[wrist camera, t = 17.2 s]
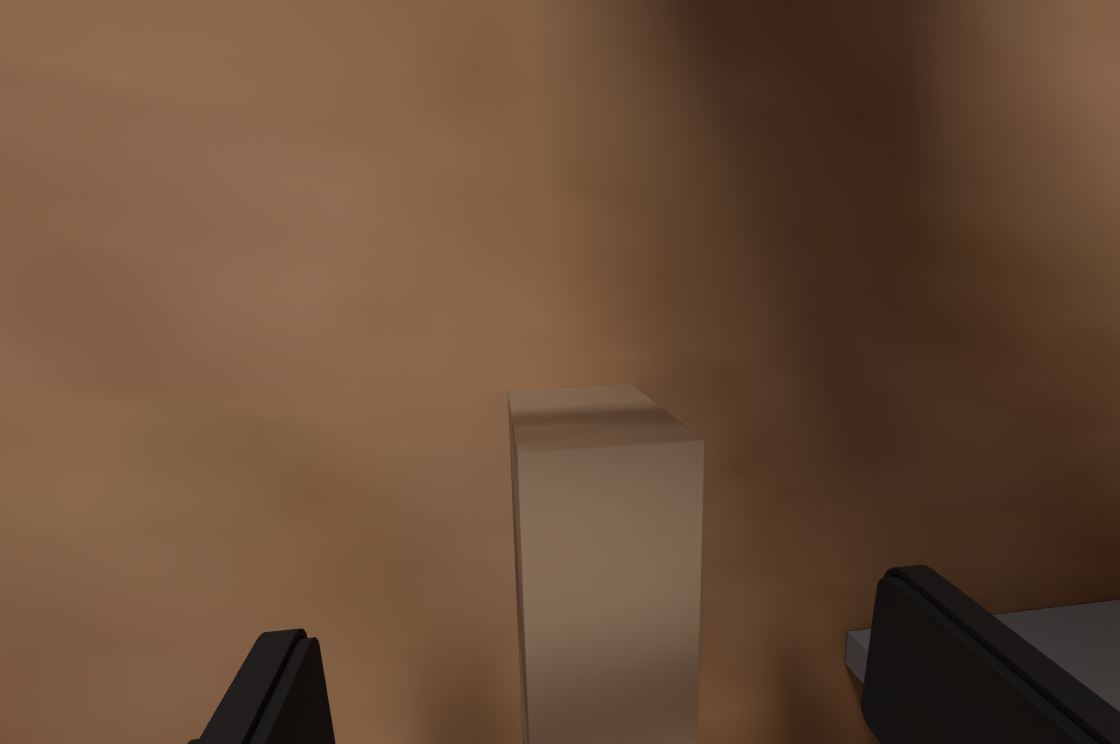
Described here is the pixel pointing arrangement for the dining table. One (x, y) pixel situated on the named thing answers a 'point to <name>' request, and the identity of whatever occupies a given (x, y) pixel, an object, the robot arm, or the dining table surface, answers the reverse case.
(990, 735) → the robot arm
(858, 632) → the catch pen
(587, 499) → the light brown rectangular block
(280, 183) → the dining table surface
